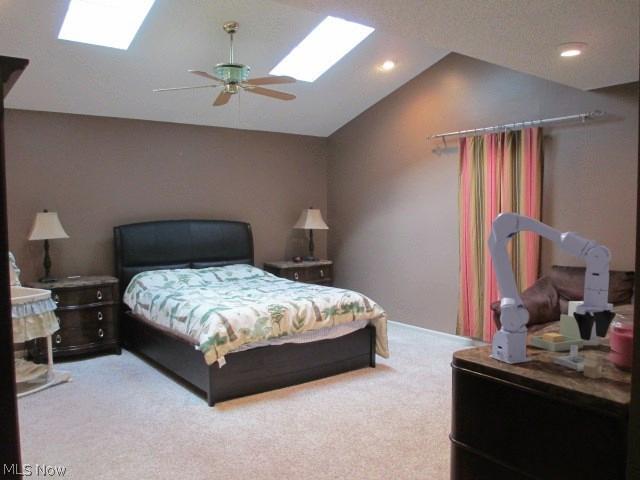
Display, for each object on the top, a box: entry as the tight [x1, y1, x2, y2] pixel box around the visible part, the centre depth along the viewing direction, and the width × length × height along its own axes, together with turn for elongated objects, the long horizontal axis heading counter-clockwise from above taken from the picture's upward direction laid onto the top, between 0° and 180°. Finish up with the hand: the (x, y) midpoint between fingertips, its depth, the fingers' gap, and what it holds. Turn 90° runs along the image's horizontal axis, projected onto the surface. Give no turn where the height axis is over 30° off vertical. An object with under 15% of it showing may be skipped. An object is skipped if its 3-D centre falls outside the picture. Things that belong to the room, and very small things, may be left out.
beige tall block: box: [583, 352, 603, 379], centre depth 134 cm, size 3×3×6 cm
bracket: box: [553, 345, 585, 372], centre depth 143 cm, size 8×8×5 cm
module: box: [542, 332, 564, 343], centre depth 164 cm, size 5×4×4 cm
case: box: [530, 313, 584, 353], centre depth 165 cm, size 15×9×10 cm, turn 117°
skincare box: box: [567, 300, 600, 346], centre depth 170 cm, size 8×6×15 cm
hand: (593, 338), depth 136 cm, fingers open, 7 cm apart
